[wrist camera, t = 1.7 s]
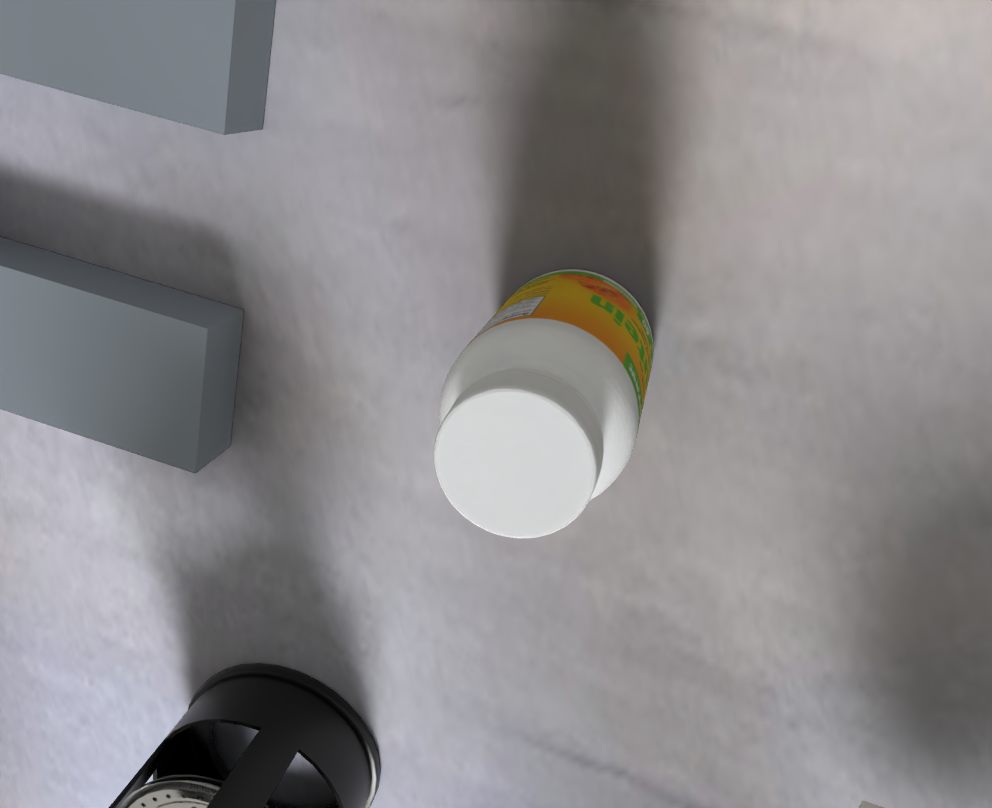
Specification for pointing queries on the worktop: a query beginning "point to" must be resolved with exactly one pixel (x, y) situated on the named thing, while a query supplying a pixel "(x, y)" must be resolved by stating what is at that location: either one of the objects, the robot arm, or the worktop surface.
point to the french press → (258, 744)
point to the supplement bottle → (544, 404)
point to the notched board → (113, 295)
